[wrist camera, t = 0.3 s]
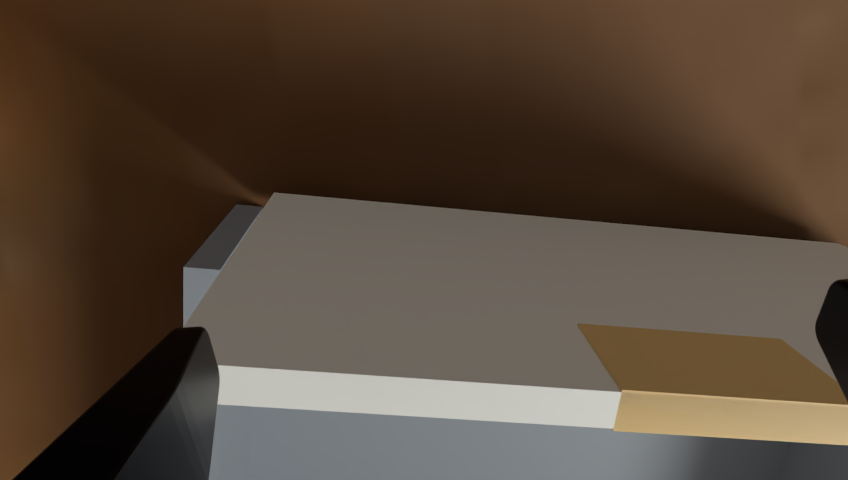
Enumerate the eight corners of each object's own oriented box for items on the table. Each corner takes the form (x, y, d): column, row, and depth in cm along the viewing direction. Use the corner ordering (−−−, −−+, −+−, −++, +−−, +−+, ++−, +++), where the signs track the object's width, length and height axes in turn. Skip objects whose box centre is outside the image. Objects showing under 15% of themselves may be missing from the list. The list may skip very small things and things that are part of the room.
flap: (832, 263, 26) (1230, 468, 14) (273, 214, 24) (160, 403, 12) (839, 242, 26) (1251, 431, 14) (273, 191, 24) (160, 358, 12)
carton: (761, 554, 32) (862, 694, 25) (228, 530, 29) (183, 676, 23) (854, 258, 27) (1007, 332, 21) (236, 204, 25) (183, 267, 18)
